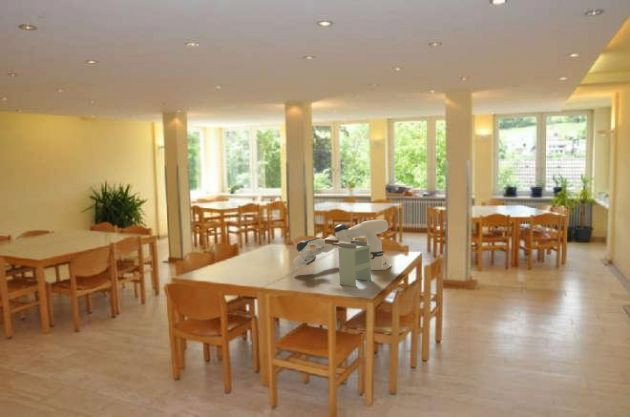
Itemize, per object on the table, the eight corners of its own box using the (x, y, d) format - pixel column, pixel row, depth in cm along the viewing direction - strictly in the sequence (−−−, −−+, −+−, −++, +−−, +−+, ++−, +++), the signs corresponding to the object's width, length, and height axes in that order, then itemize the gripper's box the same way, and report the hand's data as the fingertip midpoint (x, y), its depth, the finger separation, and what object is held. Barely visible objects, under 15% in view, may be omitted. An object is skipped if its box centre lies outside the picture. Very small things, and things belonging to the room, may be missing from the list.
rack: (356, 278, 374) (355, 235, 371) (371, 280, 365) (369, 237, 362) (339, 284, 359) (338, 239, 356) (354, 286, 350) (353, 241, 347)
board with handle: (330, 242, 379) (330, 238, 379) (352, 244, 365) (352, 240, 365) (321, 244, 371) (321, 240, 371) (344, 246, 358) (343, 242, 358)
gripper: (319, 256, 395) (330, 249, 386) (301, 261, 379) (313, 253, 371) (315, 249, 396) (327, 241, 388) (298, 253, 381) (309, 246, 372)
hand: (320, 247), depth 379 cm, fingers open, 8 cm apart
